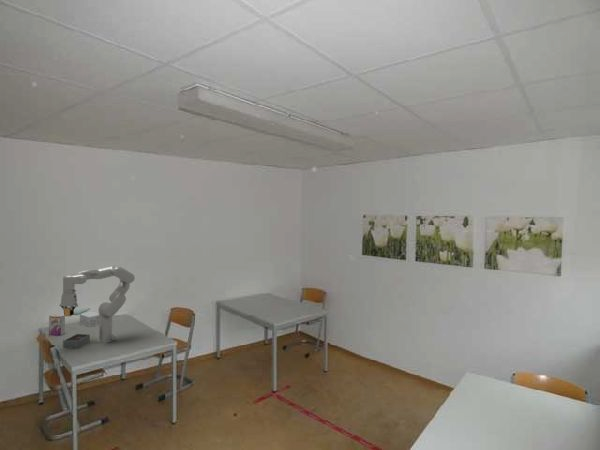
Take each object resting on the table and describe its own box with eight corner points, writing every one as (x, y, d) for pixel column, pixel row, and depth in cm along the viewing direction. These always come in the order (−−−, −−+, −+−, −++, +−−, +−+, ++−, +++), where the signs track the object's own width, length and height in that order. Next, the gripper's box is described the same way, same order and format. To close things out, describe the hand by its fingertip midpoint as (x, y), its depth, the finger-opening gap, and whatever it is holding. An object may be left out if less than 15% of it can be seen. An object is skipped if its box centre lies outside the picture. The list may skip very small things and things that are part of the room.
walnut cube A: (83, 341, 288) (83, 337, 288) (80, 343, 284) (80, 338, 284) (78, 341, 288) (78, 336, 288) (75, 343, 284) (75, 338, 284)
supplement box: (103, 323, 337) (103, 314, 337) (89, 327, 326) (89, 317, 326) (93, 320, 346) (93, 310, 346) (79, 323, 335) (79, 313, 335)
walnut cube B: (78, 344, 282) (78, 339, 282) (76, 346, 278) (76, 341, 278) (72, 344, 281) (72, 339, 281) (70, 346, 277) (70, 341, 277)
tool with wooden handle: (77, 309, 292) (78, 301, 292) (90, 310, 292) (90, 302, 291) (60, 317, 271) (60, 308, 271) (73, 317, 271) (73, 308, 271)
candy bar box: (48, 334, 303) (48, 315, 302) (53, 332, 308) (53, 314, 307) (60, 335, 302) (60, 316, 301) (65, 333, 307) (65, 315, 306)
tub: (76, 341, 291) (76, 333, 291) (89, 341, 291) (89, 334, 290) (62, 348, 275) (63, 340, 275) (76, 349, 275) (76, 341, 274)
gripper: (82, 290, 276) (82, 313, 277) (61, 289, 276) (61, 313, 277) (76, 292, 268) (76, 316, 269) (54, 292, 269) (54, 315, 270)
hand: (68, 314), depth 273 cm, fingers closed on tool with wooden handle, 4 cm apart
